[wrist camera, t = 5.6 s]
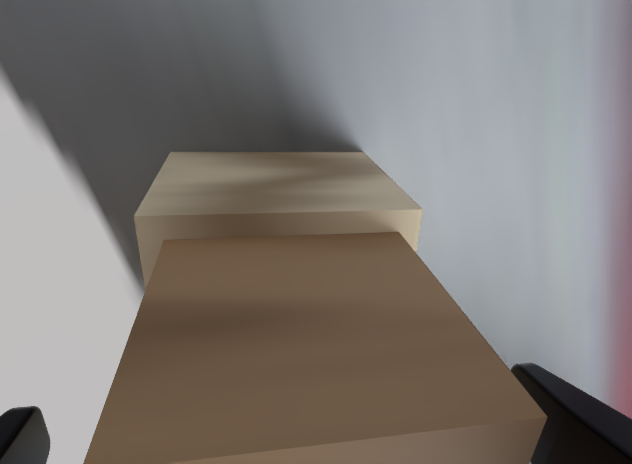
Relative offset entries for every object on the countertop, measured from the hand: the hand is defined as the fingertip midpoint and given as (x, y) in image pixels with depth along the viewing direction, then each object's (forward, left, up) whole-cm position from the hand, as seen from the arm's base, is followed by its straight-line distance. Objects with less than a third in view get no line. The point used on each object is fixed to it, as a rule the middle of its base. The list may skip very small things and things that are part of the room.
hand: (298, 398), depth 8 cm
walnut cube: (0, 0, -2) cm, 2 cm away
